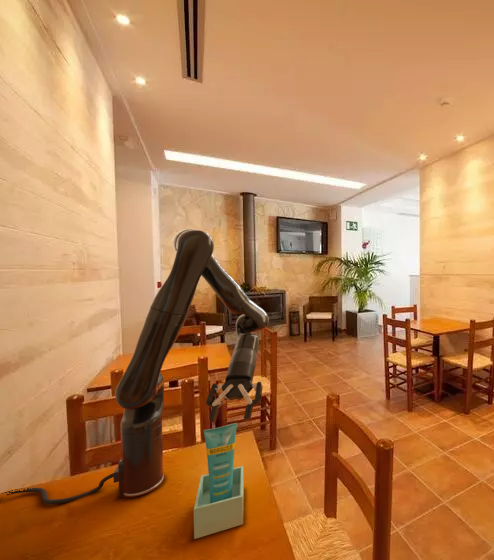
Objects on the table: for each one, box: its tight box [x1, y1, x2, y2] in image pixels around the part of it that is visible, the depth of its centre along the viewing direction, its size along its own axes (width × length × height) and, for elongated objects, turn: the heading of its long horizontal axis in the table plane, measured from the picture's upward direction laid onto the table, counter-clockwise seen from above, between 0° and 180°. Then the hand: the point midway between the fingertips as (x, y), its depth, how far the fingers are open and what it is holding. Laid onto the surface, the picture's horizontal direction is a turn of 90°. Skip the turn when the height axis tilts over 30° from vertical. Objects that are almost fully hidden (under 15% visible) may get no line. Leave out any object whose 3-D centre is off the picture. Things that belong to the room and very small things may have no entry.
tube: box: [203, 422, 238, 503], centre depth 76 cm, size 7×5×19 cm, turn 123°
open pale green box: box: [193, 465, 245, 540], centre depth 76 cm, size 10×12×7 cm
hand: (229, 421), depth 82 cm, fingers open, 8 cm apart
